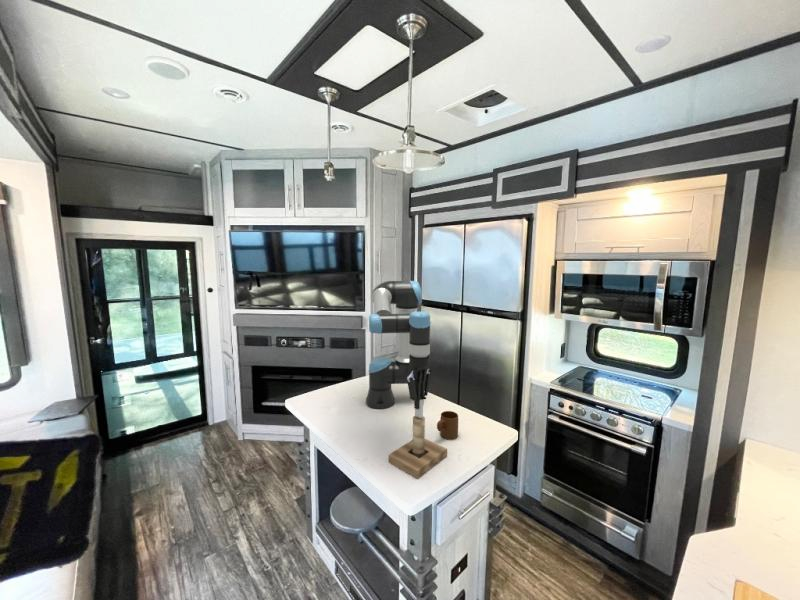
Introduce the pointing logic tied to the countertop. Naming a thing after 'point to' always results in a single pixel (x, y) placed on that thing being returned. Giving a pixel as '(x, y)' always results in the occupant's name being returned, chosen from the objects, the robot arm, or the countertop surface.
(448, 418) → the mug
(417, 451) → the leg
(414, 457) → the board
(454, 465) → the countertop surface
